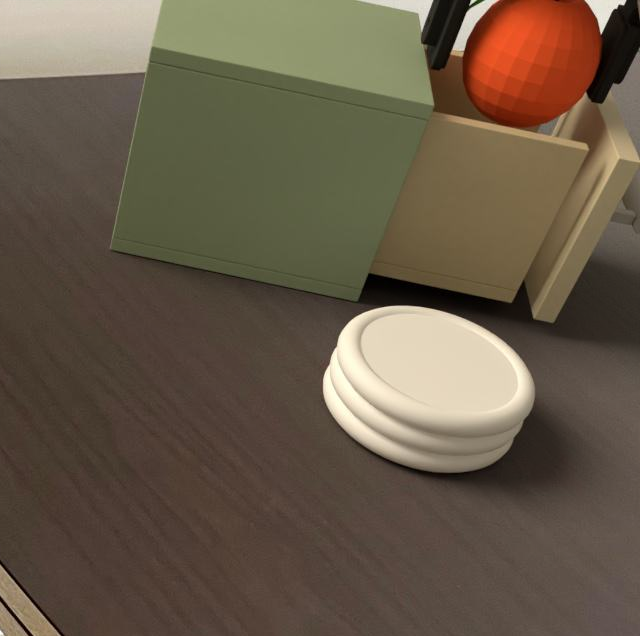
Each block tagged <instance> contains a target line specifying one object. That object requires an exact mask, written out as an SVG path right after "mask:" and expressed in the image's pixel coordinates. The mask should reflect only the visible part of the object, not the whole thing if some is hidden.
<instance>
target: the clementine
mask: <svg viewBox="0 0 640 636" xmlns="http://www.w3.org/2000/svg"><path fill="white" fill-rule="evenodd" d="M485 1H486V0H475V1H473V2H471V3H470V5H469V8H468V10H467V13H468V12H469V11H470V10H471V9H472V8H474V7H476V6H478V5H479V4H481V3H483V2H485ZM601 34H602V31H601V28H600V23H599V19H598V18H597V16H596V14H595V12H594V11H593V9H592V8H591V6H590V4H589V3H588V2H587V1H586V0H497V1H495V2H494V3H492V4H491V6H490V7H489V8H488V9H487V10H486V11H485V12H484V13H483V14H482V16H481V17H480V18H479V19H478V20H477V21H476V23H475V24H474V26H473V28H472V30H471V32H470V34H469V35H468V37H467V39H466V42H465V46H464V50H463V52H464V53H463V57H462V63H463V83H464V86H465V89H466V93H467V95H468V97H469V99H470V100H471V102H472V103H473V105H474V106H475V107H476V109H477V110H478V111H479V112H480V113H481V114H482V115H483V116H485V117H486V118H488V119H490V120H492V121H494V122H496V123H498V124H500V125H504V126H509V127H517V128H528V127H533V126H537V125H540V126H541V125H545V124H548V123H549V122H552V121H553V120H555V119H557V118H560V116H561V115H562V114H564V113H566V112H567V111H569V110H570V109H571V108H572V107H573V106H574V105H575V104H576V103H577V102H578V101H579V100H580V99H581V98H582V97H583V95H584V94H585V92H586V91H587V89H588V88H589V86H590V84H591V83H592V81H593V79H594V78H595V76H596V73H597V70H598V67H599V64H600V61H601V54H602V37H601Z"/></svg>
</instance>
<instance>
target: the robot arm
mask: <svg viewBox="0 0 640 636" xmlns="http://www.w3.org/2000/svg"><path fill="white" fill-rule="evenodd" d="M471 4H472V0H432V2H431V5H430V8H429V11H428V13H427V15H426V19H425V21H424V23H423V27H422V29H421V31H422V34H421V44H424V45H427V56H428V61H429V67H430V69H433V70H437V71H440V70H441V69H444V68H445V67H446V64H447V62H448V59H449V57H450V54H451V51H452V50H454V49H453V48H454V46H455V43H456V41H457V38H458V35H459V33H460V31H461V28H462V25H463V22H464V20H465V18H466V16H467V13H468V12H467V10H468V8H469V6H470V5H471ZM601 37H602V54H601V61H600V64H599V67H598V70H597V73H596V76H595V78H594V79H593V81H592V83H591V84H590V86H589V88H588V89H587V91H586V93H587V96H588V98H589V99H590V100H591V102H593V103H598V104H602V103H603V102H604V101H605V99H606V97H607V95H608V93H609V91H611V89H612V87H613V85H614V84H615V85H620V84H622V82H623V81H624V80H625V78H626V76H627V74H628V72H629V71H630V68H631V66H632V64H633V63H634V60H635V58H636V56H637V54H638V52H639V50H640V0H625V2H624V4H620V3H619V4H618V5H617V7H616V8H613V9H612V11H611V13H610V15H609V17H608V20H607V21H606V23H605V25H604V28H603V29H602V31H601Z"/></svg>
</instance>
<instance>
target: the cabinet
mask: <svg viewBox="0 0 640 636" xmlns="http://www.w3.org/2000/svg"><path fill="white" fill-rule="evenodd" d="M421 34H422V26H421V20H420V15H419V12H415V11H410V10H405V9H400V8H396V7H391V6H387V5H383V4H382V5H381V4H376V3H371V2H367V1H362V0H161V3H160V7H159V12H158V15H157V20H156V24H155V28H154V32H153V37H152V42H151V45H150V50H149V56H148V59H147V65H146V71H145V75H144V79H143V84H142V90H141V95H140V99H139V104H138V110H137V114H136V119H135V122H134V123H135V124H134V128H133V132H132V133H133V134H132V138H131V143H130V148H129V153H128V158H127V162H126V168H125V171H124V172H125V173H124V178H123V183H122V186H121V187H122V188H121V192H120V197H119V201H118V207H117V211H116V216H115V223H114V226H113V231H112V236H111V242H110V246H109V250H110V251H113V252H118V253H119V252H120V253H122V254H123V253H124V254H128V255H133V256H138V257H143V258H147V259H152V260H155V261H156V260H157V261H161V262H166V263H170V264H175V265H181V266H185V267H189V268H194V269H199V270H204V271H208V272H213V273H218V274H223V275H227V276H232V277H238V278H242V279H246V280H251V281H255V282H259V283H265V284H271V285H275V286H279V287H284V288H289V289H294V290H299V291H302V292H308V293H312V294H313V293H314V294H318V295H323V296H327V297H332V298H336V299H341V300H346V301H351V302H356V303H357V302H359V299H360V296H361V294H362V291H363V288H364V286H365V283H366V281H367V279H368V276H369V274H370V273H369V271H370V268H371V266H372V263H373V261H374V258H375V256H376V253H377V250H378V248H379V245H380V243H381V240H382V238H383V235H384V233H385V230H386V228H387V225H388V223H389V220H390V217H391V215H392V212H393V210H394V207H395V205H396V202H397V200H398V197H399V195H400V192H401V190H402V187H403V185H404V182H405V179H406V177H407V174H408V172H409V169H410V167H411V164H412V162H413V159H414V157H415V154H416V152H417V149H418V146H419V144H420V141H421V139H422V136H423V134H424V131H425V129H426V126H427V124H428V120H429V119H430V116H431V114H432V111H433V109H434V100H433V94H432V88H431V83H430V77H429V71H428V65H427V60H426V54H425V48H424V44H421Z"/></svg>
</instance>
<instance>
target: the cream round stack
mask: <svg viewBox="0 0 640 636" xmlns="http://www.w3.org/2000/svg"><path fill="white" fill-rule="evenodd" d="M322 393H323V394H322V395H323V400H324V402H325V404H326V407H327V409H328V411H329V412H330V414H331V416H332V418H334V420H335V421H336V423H337V424H338V425H339V426H340V427H341V428H342V430H344V431H345V433H347V434H348V435H349V436H350V437H351V438H352V439H353V440H354V441H355V442H357V443H358V444H360V446H363V447H364V448H366V449H368V450H369V451H370V452H372V453H374V454H375V455H378V456H380V457H382V458H383V459H386V460H389V461H391V462H393V463H395V464H397V465H401V466H405V467H408V468H411V469H415V470H420V471H423V472H430V473H439V474H440V473H441V474H442V473H443V474H453V473H454V474H455V473H467V472H474V471H478V470H482V469H485V468H486V467H489V466H491V465H492V464H494V463H496V462H497V461H499V460H500V459H501V458H502V457H503V456H505V454H506V453H507V452H509V450H510V448H511V446H512V445H513V443H514V439H515V437H516V436H517V435H518V433H520V431H521V429H522V427H523V424H524V421H525V419H526V418H527V417H528V416H529V415H530V413H531V411H532V410H533V407H534V402H535V398H536V387H535V382H534V379H533V377H532V374H531V372H530V370H529V369H528V367H527V366H526V364H525V362H524V361H523V359H522V358H521V357H520V355H519V354H518V353H517V352H516V351H515V350H514V349H513V347H511V346H510V345H509V344H507V342H506V341H504V340H503V339H501V337H499V336H497V335H496V334H494V333H492V332H491V331H490V330H488V329H486V328H485V327H483V326H480V325H479V324H476V323H475V322H473V321H471V320H468V319H466V318H463V317H461V316H458V315H456V314H452V313H449V312H447V311H444V310H443V311H442V310H438V309H434V308H429V307H423V306H416V305H415V306H414V305H390V306H389V305H388V306H384V307H377V308H374V309H370V310H368V311H364V312H363V313H361V314H360V313H359V314H358V315H356V316H355V317H354V318H352V319H351V320H349V322H348V323H347V324H346V325H345V327H344V328H343V329H342V330H341V332H340V334H339V336H338V339H337V342H336V347H335V348H334V350H333V352H332V354H331V357H330V361H329V365H328V366H327V368H326V369H325V372H324V375H323V379H322Z"/></svg>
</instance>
